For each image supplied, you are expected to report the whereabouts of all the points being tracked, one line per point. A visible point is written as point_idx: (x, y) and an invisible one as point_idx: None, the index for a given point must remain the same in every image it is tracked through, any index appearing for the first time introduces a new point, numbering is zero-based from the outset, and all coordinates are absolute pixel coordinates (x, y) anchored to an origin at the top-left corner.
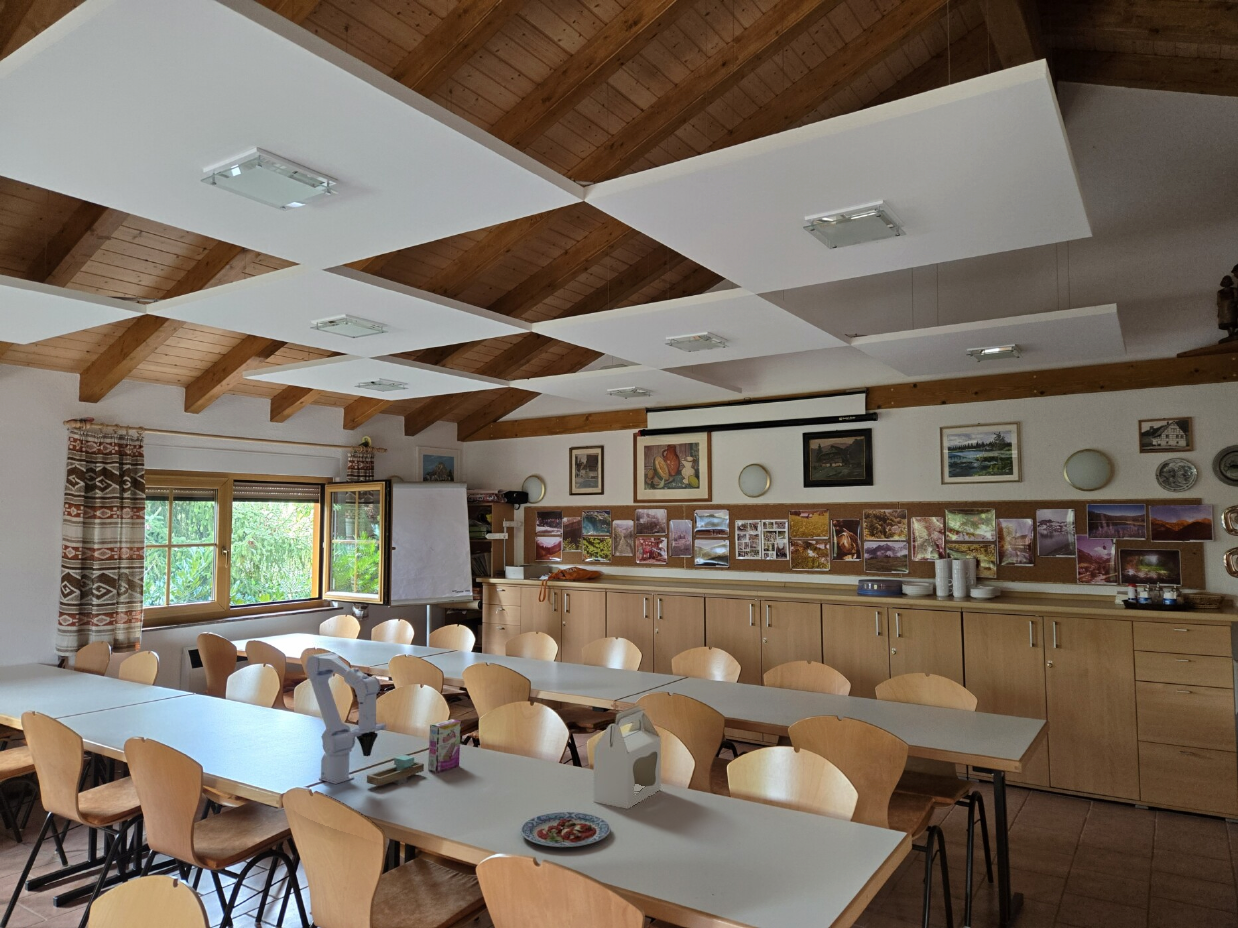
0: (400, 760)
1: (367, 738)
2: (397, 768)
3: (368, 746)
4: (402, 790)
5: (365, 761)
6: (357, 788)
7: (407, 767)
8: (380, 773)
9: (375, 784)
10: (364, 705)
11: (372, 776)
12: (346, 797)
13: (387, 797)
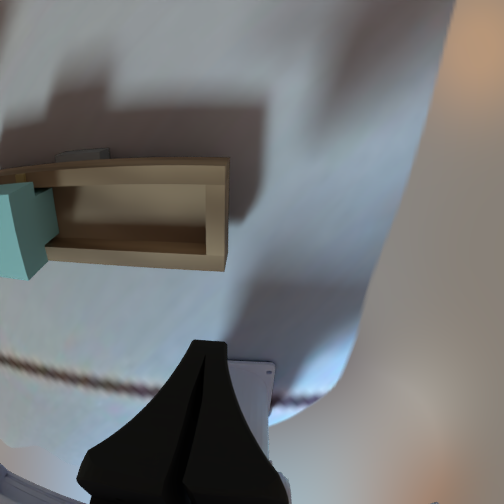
0: (19, 226)
1: (263, 479)
2: (49, 231)
3: (219, 400)
4: (159, 58)
5: (79, 409)
6: (264, 264)
7: None
8: (143, 247)
9: (228, 186)
10: None
11: (220, 229)
12: (381, 214)
13: (282, 38)
